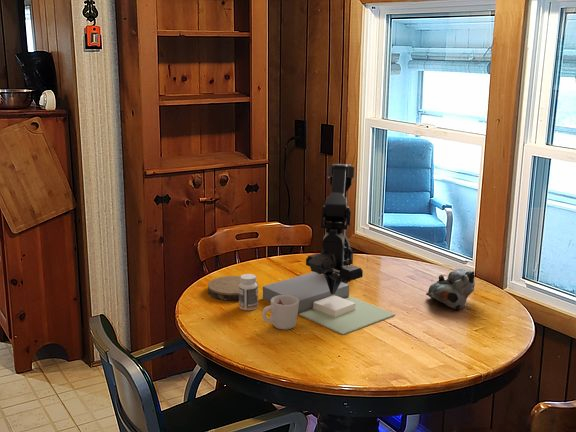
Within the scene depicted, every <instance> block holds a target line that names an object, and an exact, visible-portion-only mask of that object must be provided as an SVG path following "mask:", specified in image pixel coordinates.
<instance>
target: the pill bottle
mask: <svg viewBox="0 0 576 432" xmlns="http://www.w3.org/2000/svg"><path fill="white" fill-rule="evenodd" d="M240 280H241V283H240V284H239V301H238V305H239V306H238V308H240V310H244V311H254V310H257V309H258V306H259V296H258V295H259V284H258V285H257V283H258V282H257V276H256V275H255V274H252V273H244V274H241V277H240ZM255 281H256V282H257V283H256V282H255Z"/></svg>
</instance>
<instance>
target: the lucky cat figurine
mask: <svg viewBox="0 0 576 432" xmlns="http://www.w3.org/2000/svg"><path fill="white" fill-rule="evenodd" d="M475 286H476V280H475V271H473V270H472V271H471V270H468V269H465V268H456V269H454V270H452V271H450V272H449V273H448V275H447V279H445V277H444V275H443V274H440V275H439V276H438V281H436V282H433V283H431V284H430V286H429V288H428V290H427V292H426V293H425V296H428V297H429V298H430V299H433V300H436V301H438V302H440V303H442V304H444V305H446V306H448V307H449V308H451V309H454V310H456V311H457V310H458V311H459V310H461V311H463V309H464V308H465V307H466V303H467V299H468V298H469V296H470V295H471V294H472V293H474V291H475ZM459 312H460V311H459Z"/></svg>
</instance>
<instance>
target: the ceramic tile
mask: <svg viewBox="0 0 576 432" xmlns="http://www.w3.org/2000/svg"><path fill="white" fill-rule="evenodd" d="M313 308H314V309H316V310H319V311H321V312H324V313H326V314H328V315H331V316H333V317H337V316H340V315H342V314H345V313H348V312H350V311H353V310H355V309H356V303H354V302H351V301H349V300H346V298H344V299H343V298H341V297H338V296H335V295H332V296H329V297H326V298H323V299H321V300H318V301H315V302H313Z"/></svg>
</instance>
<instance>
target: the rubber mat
mask: <svg viewBox="0 0 576 432" xmlns="http://www.w3.org/2000/svg"><path fill="white" fill-rule="evenodd" d="M345 299H346V300H349V301H351V302H354V303H356V309H355V310H353V311H350V312H348V313H345V314H342V315H340V316H337V317H333V316H331V315H328V314H326V313H324V312H321V311H319V310H316V309H311V310H308V311H305V312H302V313H299V316H300V317H303V318H305V319H307V320H309V321H311V322H313V323H316V324H318V325H320V326H322V327H325V328H326V329H329V330H331V331H333V332H335V333H337V334H340V335H342V336H344V335H348V334H351V333H352V332H355V331H358V330H360V329H363V328H365V327H368V326H370V325H371V326H372V325H374V324H376V323H379V322H381V321H384V320H388V319H390V318H392V317H395V316H396V313H394V312H391V311H388V310H385V309H384V308H381V307H378V306H376V305H373V304H371V303H368V302H365V301H363V300H360V299H358V298H356V297H353V296H349V297H347V298H345Z"/></svg>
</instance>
